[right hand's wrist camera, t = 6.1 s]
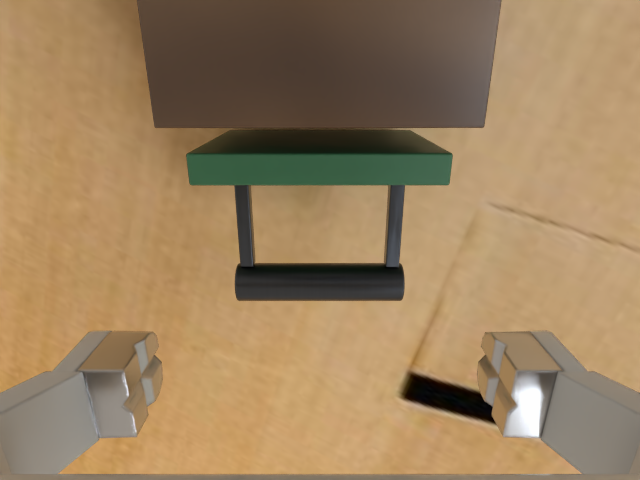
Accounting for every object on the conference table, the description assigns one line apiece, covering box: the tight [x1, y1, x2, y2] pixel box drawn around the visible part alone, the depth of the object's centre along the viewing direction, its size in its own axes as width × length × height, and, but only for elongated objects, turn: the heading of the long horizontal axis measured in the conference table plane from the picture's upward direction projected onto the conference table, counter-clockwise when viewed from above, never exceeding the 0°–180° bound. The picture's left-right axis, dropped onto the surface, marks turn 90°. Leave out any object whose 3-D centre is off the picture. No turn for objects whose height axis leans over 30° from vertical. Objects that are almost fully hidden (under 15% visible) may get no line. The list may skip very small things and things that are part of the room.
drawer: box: [186, 130, 453, 301], centre depth 18 cm, size 18×10×8 cm, turn 0°
